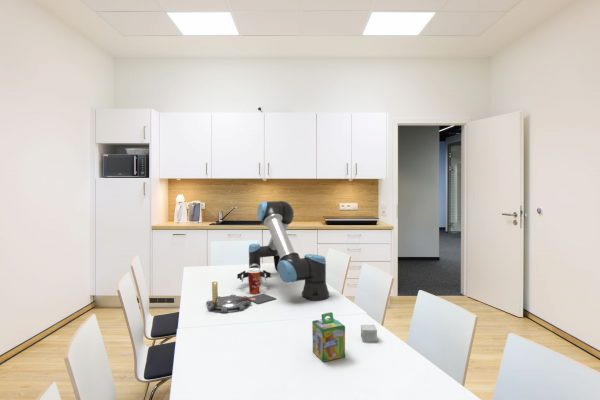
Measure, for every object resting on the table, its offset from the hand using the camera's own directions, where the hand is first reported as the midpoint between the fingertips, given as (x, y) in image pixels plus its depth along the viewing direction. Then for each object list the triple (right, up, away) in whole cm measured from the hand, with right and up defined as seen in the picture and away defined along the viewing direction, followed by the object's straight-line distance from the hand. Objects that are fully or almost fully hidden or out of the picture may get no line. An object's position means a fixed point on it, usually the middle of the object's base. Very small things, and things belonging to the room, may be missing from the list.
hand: (253, 279), depth 206 cm
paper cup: (+1, -8, -3) cm, 8 cm away
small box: (+55, -9, -66) cm, 86 cm away
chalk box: (+38, -10, -79) cm, 88 cm away
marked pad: (+6, -8, -15) cm, 18 cm away
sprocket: (-10, -8, -24) cm, 27 cm away
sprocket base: (-10, -8, -24) cm, 27 cm away
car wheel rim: (+15, -6, +54) cm, 56 cm away
